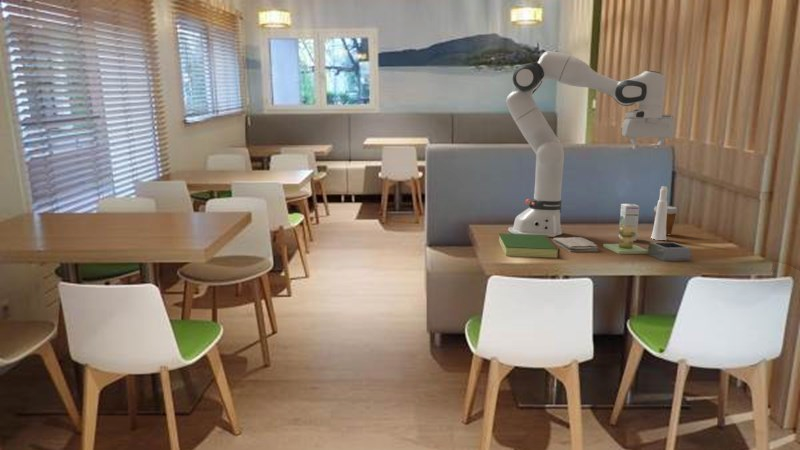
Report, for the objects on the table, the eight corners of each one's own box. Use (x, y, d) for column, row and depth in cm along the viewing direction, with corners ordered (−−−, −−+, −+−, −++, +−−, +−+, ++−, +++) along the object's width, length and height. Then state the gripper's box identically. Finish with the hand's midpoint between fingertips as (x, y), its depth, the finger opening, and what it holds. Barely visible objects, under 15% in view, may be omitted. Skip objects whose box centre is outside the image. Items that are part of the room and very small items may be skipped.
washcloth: (570, 253, 218) (571, 245, 218) (550, 243, 236) (551, 235, 235) (600, 253, 220) (601, 245, 219) (578, 242, 237) (579, 235, 237)
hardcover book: (558, 259, 209) (559, 248, 208) (505, 257, 210) (505, 246, 209) (546, 244, 233) (546, 234, 233) (498, 242, 234) (498, 233, 234)
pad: (618, 253, 218) (618, 251, 217) (603, 246, 229) (603, 243, 229) (648, 253, 219) (649, 250, 219) (632, 246, 231) (632, 243, 231)
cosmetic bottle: (654, 240, 243) (660, 187, 239) (648, 237, 249) (653, 185, 245) (669, 241, 243) (675, 187, 239) (662, 237, 249) (668, 185, 245)
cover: (622, 249, 221) (624, 228, 219) (614, 245, 227) (616, 225, 225) (637, 249, 222) (639, 228, 220) (629, 245, 227) (631, 225, 226)
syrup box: (636, 241, 242) (640, 205, 239) (622, 240, 241) (625, 205, 239) (631, 238, 247) (634, 203, 244) (617, 237, 247) (620, 203, 244)
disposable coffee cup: (677, 237, 252) (680, 209, 250) (653, 235, 253) (657, 208, 251) (671, 232, 261) (674, 206, 259) (648, 231, 262) (651, 204, 260)
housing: (663, 260, 208) (664, 248, 208) (647, 254, 218) (649, 242, 217) (689, 260, 210) (691, 248, 209) (673, 254, 220) (674, 242, 219)
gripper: (669, 114, 236) (666, 149, 238) (621, 113, 233) (618, 148, 235) (679, 114, 230) (675, 150, 232) (629, 113, 227) (626, 149, 229)
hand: (646, 149), depth 234 cm, fingers open, 8 cm apart
